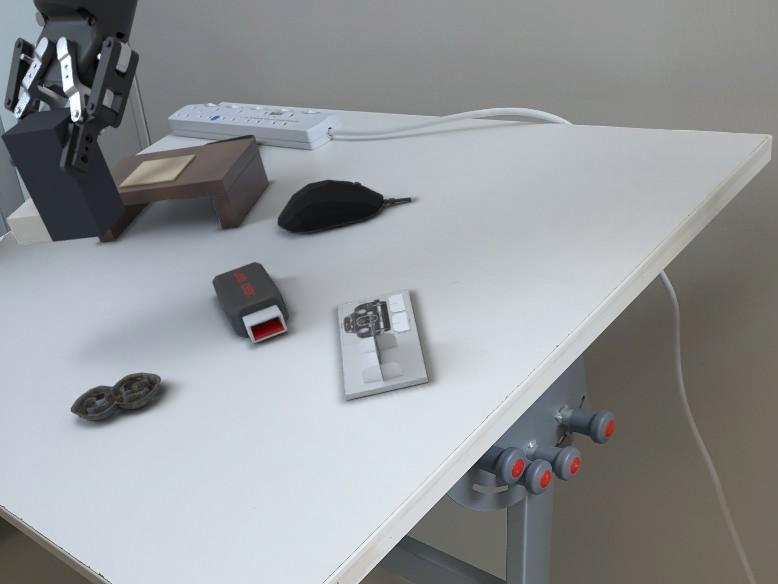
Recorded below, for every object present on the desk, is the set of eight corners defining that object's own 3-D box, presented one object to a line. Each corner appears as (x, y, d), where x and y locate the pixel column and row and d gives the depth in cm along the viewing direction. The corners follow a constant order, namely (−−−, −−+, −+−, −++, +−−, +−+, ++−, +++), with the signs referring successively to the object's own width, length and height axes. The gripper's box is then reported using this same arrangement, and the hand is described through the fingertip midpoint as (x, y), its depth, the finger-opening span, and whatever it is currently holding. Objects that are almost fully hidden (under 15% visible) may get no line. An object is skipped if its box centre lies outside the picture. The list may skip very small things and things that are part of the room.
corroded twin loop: (74, 404, 77) (68, 395, 76) (160, 373, 78) (156, 363, 77) (77, 433, 73) (71, 423, 72) (168, 400, 74) (163, 390, 73)
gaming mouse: (413, 212, 93) (405, 174, 90) (278, 241, 94) (267, 205, 91) (409, 189, 97) (402, 153, 95) (281, 217, 99) (271, 183, 96)
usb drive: (266, 280, 88) (257, 254, 86) (298, 329, 79) (289, 302, 77) (217, 297, 87) (207, 272, 85) (244, 349, 78) (234, 322, 76)
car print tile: (428, 381, 69) (418, 331, 66) (346, 400, 69) (332, 351, 66) (409, 293, 80) (399, 247, 77) (338, 310, 80) (326, 265, 77)
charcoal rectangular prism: (126, 210, 78) (82, 104, 72) (102, 236, 74) (53, 127, 68) (45, 220, 80) (-5, 118, 74) (18, 245, 77) (-36, 141, 70)
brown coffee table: (100, 242, 104) (79, 196, 100) (140, 199, 112) (122, 154, 109) (237, 227, 99) (220, 177, 95) (269, 183, 107) (254, 135, 104)
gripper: (1, -58, 71) (-42, 148, 73) (109, -72, 63) (57, 159, 65) (80, -5, 77) (38, 184, 79) (187, -12, 69) (137, 197, 71)
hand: (47, 172), depth 72 cm, fingers closed on charcoal rectangular prism, 6 cm apart
